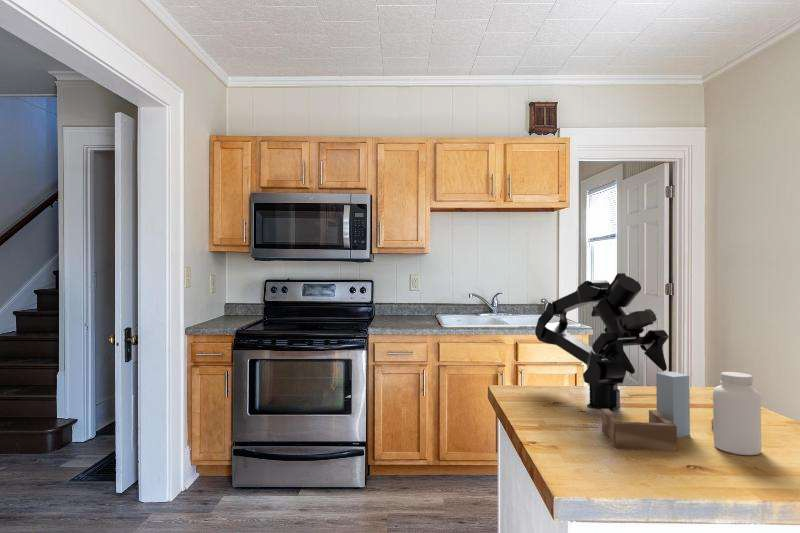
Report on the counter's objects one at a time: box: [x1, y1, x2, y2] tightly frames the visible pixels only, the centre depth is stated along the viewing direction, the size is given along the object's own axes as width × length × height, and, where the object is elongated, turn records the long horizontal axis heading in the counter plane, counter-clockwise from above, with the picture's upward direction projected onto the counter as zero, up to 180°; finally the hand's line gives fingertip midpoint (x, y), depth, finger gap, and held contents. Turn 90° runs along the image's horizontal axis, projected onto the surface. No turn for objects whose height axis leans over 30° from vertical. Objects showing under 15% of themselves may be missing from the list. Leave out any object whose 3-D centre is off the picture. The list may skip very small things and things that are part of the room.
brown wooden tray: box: [601, 409, 678, 452], centre depth 104 cm, size 11×12×5 cm
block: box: [655, 371, 691, 438], centre depth 109 cm, size 4×4×13 cm
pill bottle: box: [712, 371, 762, 456], centre depth 99 cm, size 8×8×15 cm
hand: (649, 371), depth 115 cm, fingers open, 9 cm apart
